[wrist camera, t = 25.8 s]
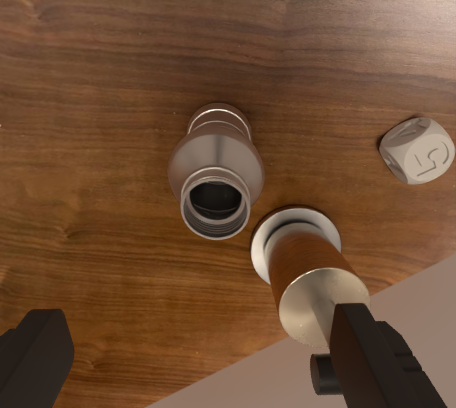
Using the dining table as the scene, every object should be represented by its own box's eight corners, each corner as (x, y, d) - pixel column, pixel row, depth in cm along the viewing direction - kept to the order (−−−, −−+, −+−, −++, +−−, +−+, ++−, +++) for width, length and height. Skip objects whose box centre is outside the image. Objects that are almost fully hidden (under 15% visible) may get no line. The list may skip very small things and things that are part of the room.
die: (372, 141, 36) (394, 153, 31) (414, 112, 34) (443, 121, 30) (392, 175, 37) (415, 191, 33) (433, 149, 36) (463, 162, 32)
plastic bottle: (228, 170, 37) (233, 281, 19) (177, 137, 35) (128, 224, 17) (262, 123, 35) (305, 197, 17) (209, 86, 33) (193, 121, 15)
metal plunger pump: (250, 205, 39) (278, 314, 19) (341, 204, 39) (469, 309, 19) (250, 286, 42) (273, 455, 22) (334, 284, 42) (437, 451, 22)
